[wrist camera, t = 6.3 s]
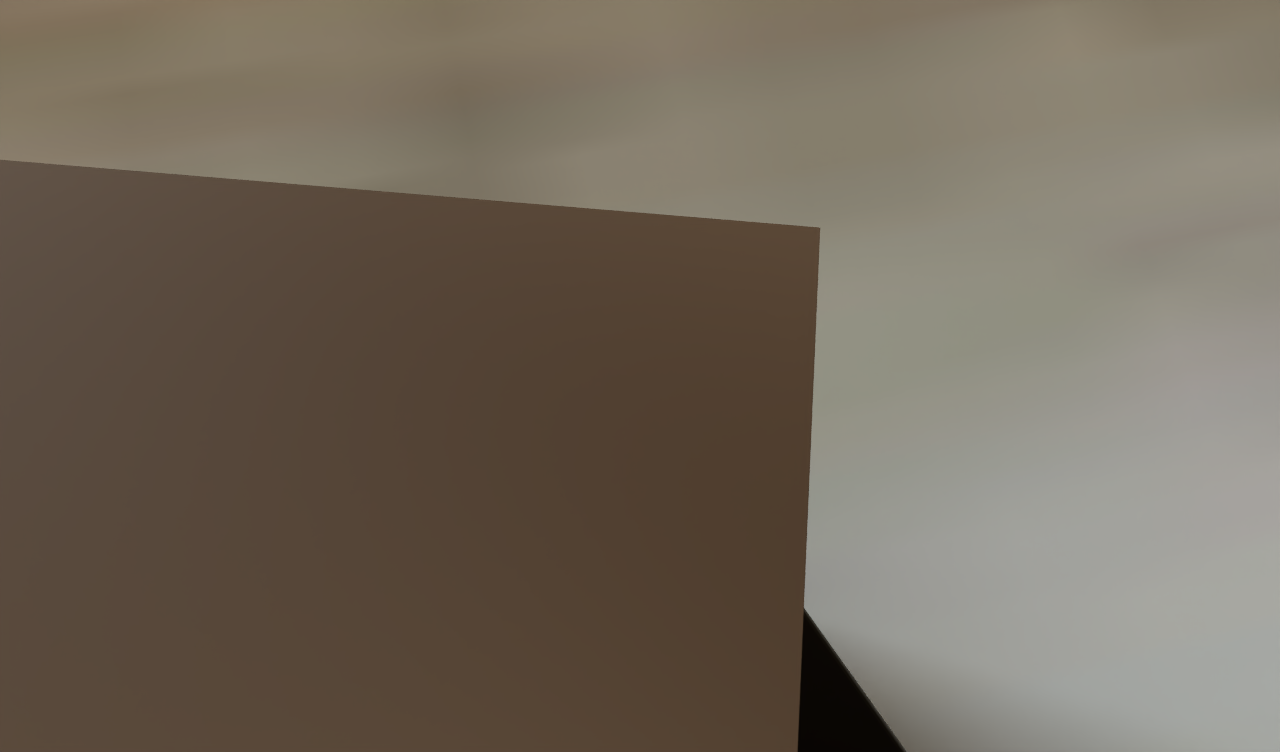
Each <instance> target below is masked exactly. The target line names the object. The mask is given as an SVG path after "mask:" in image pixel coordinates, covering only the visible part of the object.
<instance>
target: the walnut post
mask: <svg viewBox="0 0 1280 752" xmlns="http://www.w3.org/2000/svg"><path fill="white" fill-rule="evenodd" d="M819 241H820V228H818V227H805V226H793V225H781V224H769V223H757V222H745V221H733V220H721V219H709V218H697V217H685V216H672V215H660V214H648V213H636V212H624V211H612V210H600V209H588V208H576V207H564V206H552V205H539V204H527V203H515V202H503V201H491V200H479V199H467V198H455V197H443V196H431V195H419V194H406V193H394V192H382V191H370V190H358V189H346V188H334V187H322V186H310V185H298V184H286V183H273V182H261V181H249V180H237V179H225V178H213V177H201V176H189V175H177V174H165V173H153V172H140V171H128V170H116V169H104V168H92V167H80V166H68V165H56V164H44V163H32V162H20V161H7V160H0V752H797V750H798V727H799V704H800V681H801V658H802V634H803V611H804V588H805V565H806V542H807V519H808V496H809V473H810V450H811V426H812V403H813V380H814V357H815V334H816V311H817V288H818V265H819Z"/></svg>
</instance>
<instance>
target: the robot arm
mask: <svg viewBox="0 0 1280 752" xmlns="http://www.w3.org/2000/svg"><path fill="white" fill-rule="evenodd" d="M797 752H906V750H905V749H904V748H903V746H902V745H901V743H900V742H899V741H898V739H897V738H896V736H895V735H894V734H893V732H892V731H891V729H890V728H889V727H888V725H887V724H886V722H885V721H884V720H883V718H882V717H881V715H880V714H879V712H878V711H877V710H876V708H875V707H874V705H873V704H872V703H871V701H870V700H869V698H868V697H867V696H866V694H865V693H864V691H863V690H862V689H861V687H860V686H859V684H858V683H857V682H856V680H855V679H854V677H853V676H852V675H851V673H850V672H849V670H848V669H847V668H846V666H845V665H844V663H843V662H842V661H841V659H840V658H839V656H838V655H837V654H836V652H835V651H834V649H833V648H832V647H831V645H830V644H829V642H828V641H827V640H826V638H825V637H824V635H823V634H822V633H821V631H820V630H819V628H818V627H817V626H816V624H815V623H814V621H813V620H812V619H811V617H810V616H809V614H808V613H807V612H806V610H805V609H804V611H803V634H802V658H801V681H800V704H799V727H798V750H797Z"/></svg>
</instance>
